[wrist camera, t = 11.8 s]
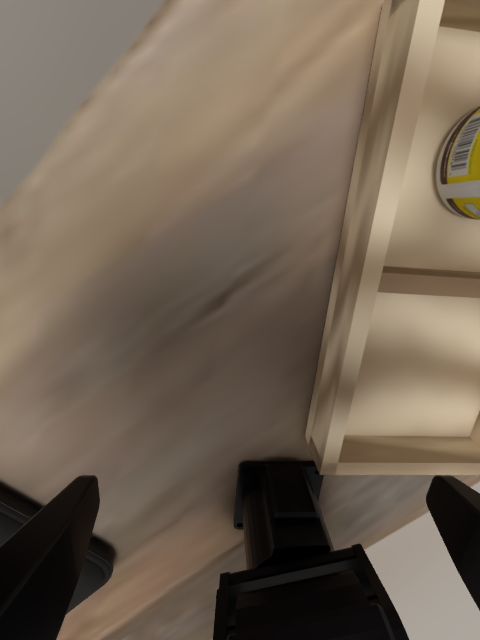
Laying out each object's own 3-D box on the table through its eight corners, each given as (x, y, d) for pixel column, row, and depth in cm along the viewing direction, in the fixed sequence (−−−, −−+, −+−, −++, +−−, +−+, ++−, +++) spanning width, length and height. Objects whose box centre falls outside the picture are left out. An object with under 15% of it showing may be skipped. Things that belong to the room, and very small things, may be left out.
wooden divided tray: (467, 438, 24) (507, 475, 21) (304, 436, 23) (319, 474, 19) (624, 40, 16) (733, -5, 12) (382, 4, 14) (431, -57, 11)
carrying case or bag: (-116, 532, 23) (50, 608, 28) (-162, 577, 21) (31, 654, 25) (-36, 451, 21) (129, 546, 26) (-75, 488, 19) (118, 588, 23)
